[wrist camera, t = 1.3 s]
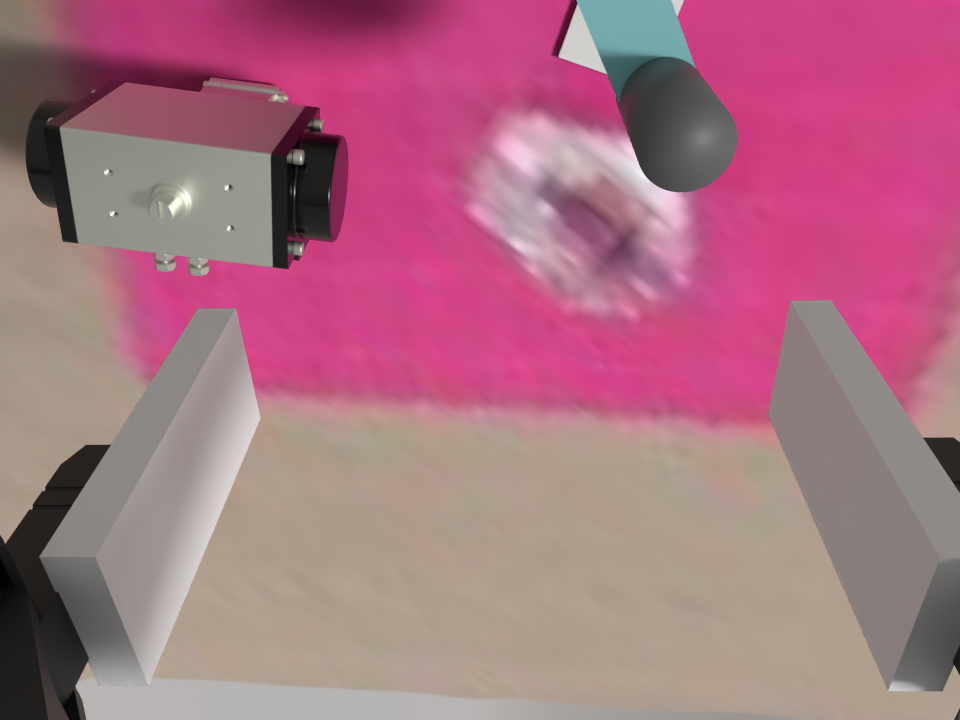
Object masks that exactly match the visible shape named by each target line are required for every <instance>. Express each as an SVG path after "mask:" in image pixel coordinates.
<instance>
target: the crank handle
mask: <svg viewBox="0 0 960 720" xmlns="http://www.w3.org/2000/svg"><path fill="white" fill-rule="evenodd" d="M576 1H577V3H578V5H579V8H580V10H581V13H582V15H583V17H584V20H585V22H586V25H587V27H588V29H589V32H590V34H591V37H592V39H593V41H594V44H595V46H596V49H597V51H598V54H599V56H600V58H601V61H602V63H603V66H604V68H605V70H606V73H607V75H608V78H609V80H610V82H611V85H612V87H613V90H614V92H615V94H616V101H617V106H618V109H619V111H620V114H621V117H622V119H623V122H624V125H625V127H626V130H627V133H628V135H629V138H630V141H631V143H632V146H633V149H634V151H635V154H636V157H637V159H638V162H639V165H640V167H641V169H642V171H643V173H644V174H645V176H646V177H647V178H648V179H649V180H650V181H651V182H652V183H654V184H655V185H656V186H658V187H660V188H662V189H665V190H668V191H673V192H689V191H694V190H697V189H700V188H703V187H705V186H707V185H709V184H710V183H712V182H713V181H715V180H716V179H717V178H718V177H719V176H720V175H721V174H722V173H723V172H724V171H725V170H726V168H727V167H728V166H729V164H730V162H731V161H732V158H733V156H734V153H735V150H736V145H737V130H736V126H735V123H734V120H733V118H732V116H731V115H730V113H729V112H728V110H727V109H726V108H725V106H724V105H723V104H722V102H721V101H720V100H719V98H718V97H717V96H716V94H715V93H714V92H713V90H712V89H711V88H710V86H709V85H708V84H707V82H706V81H705V80H704V78H703V77H702V76H701V74H700V73H699V72H698V70H697V69H696V68H695V65H694V62H693V60H692V57H691V54H690V51H689V48H688V46H687V43H686V40H685V37H684V34H683V32H682V29H681V26H680V23H679V20H678V18H677V15H676V12H675V9H674V6H673V4H672V1H671V0H576Z"/></svg>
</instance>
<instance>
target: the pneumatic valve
mask: <svg viewBox="0 0 960 720" xmlns="http://www.w3.org/2000/svg"><path fill="white" fill-rule="evenodd" d="M288 100H289V96H288V95H286V92H285V91H280V90H279V87H278V86H274V85H266V84H259V83H251V82H244V81H236V80H229V79H221V78H213V77H211V78H210V80H209V81H204V82H203V89H202V90H201V91H200V92H196V91H188V90H180V89H173V88H165V87H158V86H150V85H142V84H135V83H127V82H119V81H112V80H111V81H110V82H108V83H107V84H105V85H103V86H102V87H100V88H99V89H97V90H93V91H92V92H91V94H90V95H88V96H87V97H85V98H83V99H82V100H80V101H72V100H64V99H56V98H51V99H47V100H45V101H44V102H42V103H41V104H40V105H39V107H38V108H37V109H36V111H35V112H34V114H33V116H32V119H31V121H30V124H29V128H28V132H27V139H26V167H27V173H28V177H29V181H30V184H31V187H32V189H33V191H34V193H35V195H36V196H37V198H38V199H39V200H40V201H41V202H42V203H43V204H44V205H46V206H48V207H52V208H57V211H58V217H59V222H60V228H61V234H62V240H63V242H71V243H79V244H88V245H96V246H104V247H112V248H120V249H128V250H136V251H144V252H153V253H154V256H155V259H154V260H155V266H156V269H157V270H159V271H162V272H167V271H172V270H174V269H175V267H176V263H175V260H174V257H175V255H177V256H185V257H187V258H188V262H189V263H188V269H189V272H190V274H192V275H195V276H201V275H205V274H207V273H208V271H209V266H208V264H207V261H208V259H209V260H218V261H226V262H234V263H242V264H250V265H258V266H266V267H274V268H283V269H289V267H290V265H291V263H292V261H293V260H297V261H299V260H300V258H301V256H302V255H303V252H304V249H305V247H306V245H307V243H308V241H309V240H317V241H325V242H335V241H336V239H337V237H338V235H339V232H340V229H341V225H342V220H343V215H344V209H345V202H346V193H347V181H348V149H347V143H346V139H345V138H344V137H343V136H341V135H333V134H326V133H322V132H323V128H324V121H323V120H322V119H320V108H318V107H310V106H302V105H295V104H287V103H286V102H288Z"/></svg>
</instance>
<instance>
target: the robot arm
mask: <svg viewBox="0 0 960 720" xmlns="http://www.w3.org/2000/svg"><path fill="white" fill-rule="evenodd" d="M768 415H769V418H770V420H771V422H772V425H773V427H774V429H775V432H776V434H777V436H778V438H779V441H780V443H781V445H782V448H783V450H784V452H785V455H786V457H787V459H788V462H789V464H790V466H791V468H792V471H793V473H794V475H795V478H796V480H797V482H798V485H799V487H800V489H801V491H802V494H803V496H804V498H805V501H806V503H807V505H808V508H809V510H810V512H811V514H812V517H813V519H814V521H815V524H816V526H817V528H818V531H819V533H820V535H821V537H822V540H823V542H824V544H825V547H826V549H827V551H828V554H829V556H830V558H831V560H832V563H833V565H834V567H835V570H836V572H837V574H838V577H839V579H840V581H841V583H842V586H843V588H844V590H845V593H846V595H847V597H848V600H849V602H850V604H851V606H852V609H853V611H854V613H855V616H856V618H857V620H858V623H859V625H860V627H861V630H862V632H863V634H864V636H865V639H866V641H867V643H868V646H869V648H870V650H871V653H872V655H873V657H874V659H875V662H876V664H877V666H878V669H879V671H880V673H881V676H882V678H883V680H884V682H885V685H886V687H887V689H888V691H943V688H944V686H945V684H946V682H947V680H948V677H949V675H950V673H951V671H952V668H953V666H954V665H955V667H956V669H957V671H958V673H959V674H960V442H959V441H957V440H956V439H955V438H923V437H922V436H921V434H920V433H919V431H918V430H917V428H916V427H915V425H914V424H913V422H912V421H911V419H910V418H909V416H908V415H907V413H906V412H905V410H904V409H903V407H902V406H901V404H900V403H899V401H898V400H897V398H896V397H895V395H894V394H893V392H892V391H891V389H890V388H889V386H888V385H887V384H886V382H885V381H884V379H883V378H882V376H881V375H880V373H879V372H878V370H877V369H876V367H875V366H874V364H873V363H872V361H871V360H870V358H869V357H868V355H867V354H866V352H865V351H864V349H863V348H862V346H861V345H860V343H859V342H858V340H857V339H856V337H855V336H854V334H853V333H852V331H851V330H850V328H849V327H848V325H847V324H846V322H845V321H844V319H843V318H842V316H841V315H840V313H839V312H838V310H837V309H836V307H835V306H834V304H833V303H832V301H831V300H811V301H790V307H789V312H788V317H787V322H786V327H785V332H784V337H783V342H782V347H781V352H780V357H779V362H778V367H777V372H776V377H775V382H774V387H773V392H772V397H771V402H770V407H769V412H768ZM259 421H260V414H259V409H258V405H257V400H256V396H255V392H254V387H253V383H252V378H251V374H250V369H249V365H248V360H247V356H246V352H245V347H244V343H243V338H242V334H241V329H240V325H239V321H238V316H237V312H236V308H220V309H198V310H197V311H196V313H195V314H194V316H193V317H192V319H191V321H190V322H189V324H188V325H187V327H186V328H185V330H184V332H183V333H182V335H181V336H180V338H179V339H178V341H177V342H176V344H175V346H174V347H173V349H172V350H171V352H170V353H169V355H168V357H167V358H166V360H165V361H164V363H163V364H162V366H161V367H160V369H159V371H158V372H157V374H156V375H155V377H154V378H153V380H152V382H151V383H150V385H149V386H148V388H147V389H146V391H145V392H144V394H143V396H142V397H141V399H140V400H139V402H138V403H137V405H136V407H135V408H134V410H133V411H132V413H131V414H130V416H129V418H128V419H127V421H126V422H125V424H124V425H123V427H122V428H121V430H120V432H119V433H118V435H117V436H116V438H115V439H114V441H113V443H112V444H111V445H85V446H84V447H83V448H82V449H80V450H79V451H78V452H76V453H75V454H74V455H73V456H71V457H70V458H69V459H67V460H66V461H65V462H64V463H62V464H61V465H60V467H59V468H58V469H57V471H56V472H55V474H54V475H53V477H52V478H51V479H50V481H49V482H48V484H47V485H46V487H45V488H46V489H45V491H42V492H41V494H40V495H39V497H38V498H37V499H36V501H35V502H34V504H33V509H32V510H29V511H28V512H27V514H26V515H25V517H24V518H23V520H22V521H21V522H20V524H19V525H18V527H17V528H16V530H15V531H14V532H13V534H12V535H11V537H10V538H9V540H8V541H7V542H6V544H5V543H4V541H3V539H2V537H1V536H0V720H86V716H85V712H84V707H83V702H82V699H81V697H80V695H79V693H78V692H77V689H76V687H75V686H76V684H77V682H78V680H79V678H80V676H81V674H82V672H83V670H84V668H85V666H86V664H87V662H88V663H89V665H90V667H91V670H92V672H93V674H94V676H95V678H96V680H97V682H98V685H110V686H112V685H113V686H121V685H123V686H149V684H150V681H151V679H152V676H153V674H154V672H155V669H156V667H157V664H158V662H159V660H160V657H161V655H162V652H163V650H164V648H165V645H166V643H167V641H168V638H169V636H170V633H171V631H172V629H173V626H174V624H175V621H176V619H177V617H178V614H179V612H180V609H181V607H182V605H183V602H184V600H185V597H186V595H187V593H188V590H189V588H190V586H191V583H192V581H193V578H194V576H195V574H196V571H197V569H198V566H199V564H200V562H201V559H202V557H203V554H204V552H205V550H206V547H207V545H208V542H209V540H210V538H211V535H212V533H213V531H214V528H215V526H216V523H217V521H218V519H219V516H220V514H221V511H222V509H223V507H224V504H225V502H226V499H227V497H228V495H229V492H230V490H231V487H232V485H233V483H234V480H235V478H236V476H237V473H238V471H239V468H240V466H241V464H242V461H243V459H244V456H245V454H246V452H247V449H248V447H249V444H250V442H251V440H252V437H253V435H254V432H255V430H256V428H257V425H258V423H259ZM955 720H960V709H959V711H958V713H957V715H956V717H955Z"/></svg>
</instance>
